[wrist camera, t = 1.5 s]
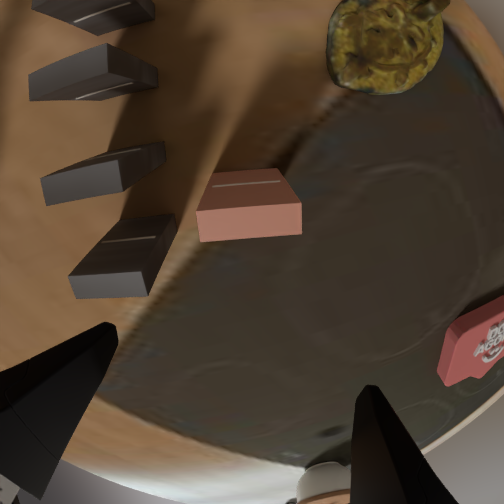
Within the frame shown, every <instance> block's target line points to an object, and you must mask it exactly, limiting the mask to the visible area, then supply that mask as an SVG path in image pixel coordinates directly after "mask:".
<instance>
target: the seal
mask: <svg viewBox="0 0 504 504" xmlns="http://www.w3.org/2000/svg"><path fill="white" fill-rule="evenodd" d="M449 4H450V0H343V1H342V2H341V3H340V4H339V5H338V6H337V7H336V9H335V11H334V13H333V15H332V17H331V19H330V22H329V26H328V35H327V48H326V58H327V68H328V71H329V74H330V76H331V78H332V80H333V82H334V83H335V84H336V85H338V86H340V87H343V88H347V89H352V90H357V91H361V92H364V93H367V94H377V95H382V94H395V93H400V92H404V91H406V90H408V89H410V88H412V87H413V86H414V85H415V84H416V83H418V82H420V81H421V80H422V79H423V78H424V77H425V76H426V75H427V74H428V73H429V72H430V71H431V70H432V69H433V67H434V66H435V64H436V62H437V60H438V58H439V56H440V54H441V51H442V46H443V22H442V17H441V12H442V11H443V10H444V9H445V8H446V7H447V6H448V5H449Z"/></svg>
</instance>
